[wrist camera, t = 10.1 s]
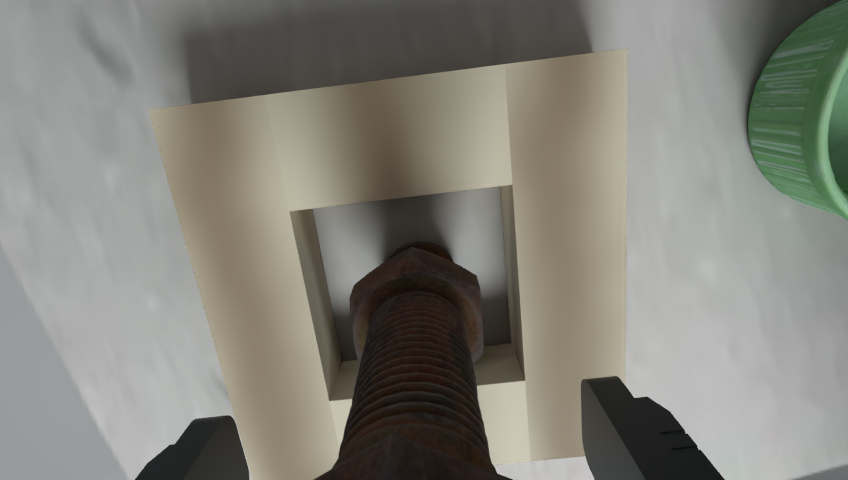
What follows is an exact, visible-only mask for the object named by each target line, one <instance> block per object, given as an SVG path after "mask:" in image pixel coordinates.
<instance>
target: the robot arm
mask: <svg viewBox="0 0 848 480" xmlns="http://www.w3.org/2000/svg"><path fill="white" fill-rule="evenodd" d="M581 419H582V442H583V447H584V452H585V456H586V459H587V462H588V465H589V468H590V470H591V472H592V474H593V476H594V479H595V480H724V478H723V477H722V476H721V475H720V473H719V472H718V471H717V470H716V468H715V467H714V466H713V465H712V464H711V462H710V461H709V460H708V459H707V457H706V456H705V455H704V454H703V452H702V451H701V450H698V448H697V445H696V444H695V442H694V441H693V440H692V439H691V437H690V436H689V435H688V434H685V430H684V429H683V428H682V426H681V425H680V424H679V423H678V421H677V420H676V419H675V418H674V416H673V415H672V414H671V413H670V411H668V410H667V409H665V408H664V407H662V406H660V405H659V404H657V403H656V402H654V401H653V400H651V399H650V398H648V397H641V398H634V397H633V396H632V394H631V393H630V392H629V390H628V389H627V387H626V386H625V385H624V383H623V382H622V380H621V379H620V378H619V377H618V376H610V377H600V378H591V379H583V380H582V382H581ZM135 480H249V470H248V466H247V462H246V459H245V455H244V452H243V448H242V445H241V441H240V438H239V434H238V431H237V427H236V424H235V421H234V419H233V418H232V417H231V416H229V415H228V416H218V417H209V418H199V419H195V420H193V421H192V422H191V423H190V425H189V426H188V427H187V429H186V430H185V431H184V433H183V434H182V436H181V437H180V438H179V440H178V441H177V442H176V444H174V445H169V446H168V447H167V448H166V449H164V450H163V451H162V452H161V453H160V454H158V455H157V456H156V457H155V458H153V459H152V460H151V461H150V462H149V463H147V465H146V466H145V467H144V469H143V470H142V471H141V472H140V474H139V475H138V476H137V478H136V479H135Z"/></svg>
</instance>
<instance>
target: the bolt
mask: <svg viewBox="0 0 848 480" xmlns="http://www.w3.org/2000/svg"><path fill="white" fill-rule="evenodd" d="M350 314H351V325H352V334H353V340H354V346H355V351H356V355H357V358H358V362H359V364H360V367H359V372H358V376H357V379H356V384H355V388H354V396H353V398H352V406H351V408H350V412H349V416H348V419H347V422H346V426H345V429H344V435H343V440H342V443H341V445H340V450H339V456H338V459H337V461H336V462H335V464H334V466H333V467H332V469H331V470H329V471H327V472H326V473H324V474H322V475H320V476H319V477H317V478H315V479H314V480H512V479H510V478H507V477H504V476H502V475H499V474H497V472H496V469H495V467H494V466H493V464H492V462H491V459H490V453H489V447H488V440H487V436H486V434H485V428H484V422H483V419H482V415H481V410H480V407H479V401H478V391H477V384H476V376H475V370H474V367H473V363H474V362H475V361H477V360H478V359H479V358H480V357H481V356H482V355H483V345H484V341H483V318H482V304H481V293H480V286H479V283H478V279H477V276H476V275H474V274H473V273H471V272H469V271H468V270H466V269H464V268H463V267H461V266H459V265H457V264H455V263H454V262H453V260H452V258H451V257H450V255H449V254H448V253H447V251H446V250H445V249H443V248H442V247H440V246H438V245H436V244H433V243H427V242H412V243H408V244H405V245H403V246H401V247H399V248H398V249H396V250H395V251H394V252H393V253H392V254H391V255H390V256H389V257H388V259H387V260H386V262H384V263H383V264H381V265H380V266H378V267H377V268H375V269H374V270H373V271H371V272H370V273H369V274H367V275H366V276H365V277H364V278H362V279H361V280H360V281H359V282H357V283H356V284H355V285H354V287H353V290H352V293H351V295H350Z"/></svg>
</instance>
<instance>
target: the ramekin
mask: <svg viewBox="0 0 848 480" xmlns="http://www.w3.org/2000/svg"><path fill="white" fill-rule="evenodd" d="M748 135H749V141H750V147H751V151H752V154H753V156H754V159H755V161H756V164H757V165H758V167H759V169H760V171H761V172H762V174H763V175H764V176H765V178H766V179H767V180H768V181H769V182H770V183H771V184H772V185H773V186H774V187H775V188H777V189H778V190H779V191H780V192H782V193H783V194H785V195H787V196H789V197H791V198H792V199H795V200H797V201H800V202H802V203H805V204H807V205H810V206H813V207H816V208H819V209H821V210H824V211H827V212H830V213H833V214H836V215H839V216H842V217H843V218H845V219H846V220H848V0H842V1H840V2H837V3H835V4H833V5H830V6H829V7H827V8H825V9H823V10H821V11H820V12H818V13H816V14H815V15H813V16H811V17H810V18H809V19H808V20H806V21H805V22H804V23H802V24H801V25H800V26H799V27H797V28H796V29H795V30H794V31H793V32H792V33H791V34H790V35H789V36H788V37H787V38H786V39H785V40H784V41H783V42H782V43H781V44H780V45H779V47H778V48H777V49H776V50H775V52H774V53H773V54H772V56H771V57H770V59H769V61H768V62H767V64H766V65H765V67H764V69H763V71H762V72H761V74H760V77H759V79H758V81H757V83H756V86H755V89H754V93H753V96H752V100H751V105H750V109H749V117H748Z"/></svg>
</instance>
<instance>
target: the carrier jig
mask: <svg viewBox="0 0 848 480" xmlns="http://www.w3.org/2000/svg"><path fill="white" fill-rule="evenodd" d="M627 88H628V48H626V49H618V50H611V51H603V52H595V53H587V54H579V55H572V56H564V57H556V58H548V59H540V60H533V61H525V62H517V63H509V64H501V65H494V66H486V67H478V68H470V69H462V70H455V71H447V72H439V73H431V74H423V75H416V76H408V77H400V78H392V79H384V80H377V81H369V82H361V83H353V84H345V85H338V86H330V87H322V88H314V89H307V90H299V91H291V92H283V93H275V94H268V95H260V96H252V97H244V98H236V99H229V100H221V101H213V102H205V103H197V104H190V105H182V106H174V107H166V108H158V109H151V110H148V112H149V116H150V119H151V123H152V126H153V130H154V133H155V137H156V140H157V144H158V148H159V151H160V155H161V158H162V162H163V165H164V169H165V172H166V176H167V179H168V183H169V186H170V190H171V193H172V197H173V200H174V204H175V207H176V211H177V214H178V218H179V222H180V225H181V229H182V232H183V236H184V239H185V243H186V246H187V250H188V253H189V257H190V260H191V264H192V267H193V271H194V274H195V278H196V281H197V285H198V288H199V292H200V296H201V299H202V303H203V306H204V310H205V313H206V317H207V320H208V324H209V327H210V331H211V334H212V338H213V341H214V345H215V348H216V352H217V355H218V359H219V362H220V366H221V370H222V373H223V377H224V380H225V384H226V387H227V391H228V394H229V398H230V401H231V405H232V408H233V412H234V415H235V419H236V422H237V426H238V429H239V433H240V436H241V440H242V444H243V447H244V451H245V454H246V458H247V461H248V465H249V468H250V472H251V475H252V479H253V480H314V479H315V478H317V477H319V476H320V475H322V474H324V473H326V472H327V471H329V470H331V469H332V467H333V466H334V464H335V462H336V461H337V459H338V456H339V450H340V445H341V443H342V440H343V435H344V429H345V426H346V422H347V419H348V416H349V412H350V408H351V406H352V398H353V396H354V388H355V384H356V379H357V376H358V372H359V367H360V364H359V362H358V360H350V361H342V359H341V354H340V349H339V344H338V338H337V333H336V328H335V323H334V318H333V313H332V308H331V303H330V298H329V293H328V287H327V282H326V277H325V272H324V267H323V262H322V257H321V252H320V247H319V241H318V236H317V231H316V226H315V221H314V216H313V211H312V209H313V208H321V207H330V206H338V205H346V204H355V203H363V202H372V201H380V200H388V199H397V198H405V197H413V196H422V195H430V194H439V193H447V192H455V191H464V190H472V189H480V188H489V187H497V186H500V196H501V209H502V223H503V236H504V250H505V264H506V277H507V291H508V305H509V318H510V332H511V343H508V344H499V345H489V346H483V355H482V356H481V357H480V358H479V359H478V360H477V361H475V362H474V363H473V367H474V370H475V376H476V384H477V391H478V401H479V407H480V410H481V415H482V419H483V422H484V428H485V434H486V436H487V440H488V447H489V453H490V459H491V462H492V464H493V465H500V464H510V463H520V462H530V461H540V460H550V459H560V458H570V457H580V456H585V452H584V447H583V442H582V419H581V382H582V380H583V379H591V378H600V377H610V376H618V377H619V378H620V379H621V380H622V382H623V383H624V385H625V354H626V221H627Z"/></svg>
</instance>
